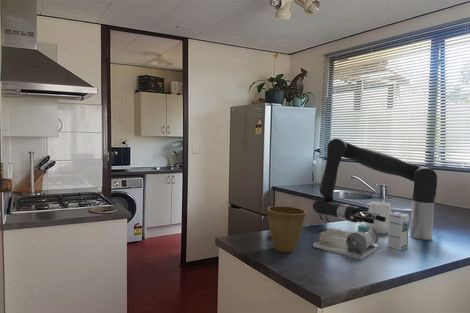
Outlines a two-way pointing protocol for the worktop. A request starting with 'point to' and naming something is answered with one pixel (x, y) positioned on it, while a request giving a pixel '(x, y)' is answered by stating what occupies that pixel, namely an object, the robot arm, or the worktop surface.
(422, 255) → the worktop surface
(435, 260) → the worktop surface
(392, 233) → the syrup box
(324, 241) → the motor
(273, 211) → the plant pot
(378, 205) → the cup
